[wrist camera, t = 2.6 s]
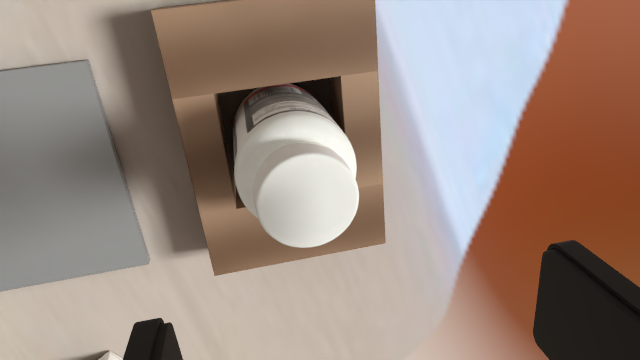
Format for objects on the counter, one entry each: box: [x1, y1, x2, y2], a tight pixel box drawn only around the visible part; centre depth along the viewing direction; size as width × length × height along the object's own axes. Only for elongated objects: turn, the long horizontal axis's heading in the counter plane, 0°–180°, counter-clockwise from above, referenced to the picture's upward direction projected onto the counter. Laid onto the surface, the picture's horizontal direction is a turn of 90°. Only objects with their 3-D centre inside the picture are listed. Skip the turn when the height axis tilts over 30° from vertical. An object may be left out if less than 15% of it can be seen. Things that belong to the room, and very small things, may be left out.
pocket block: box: [151, 0, 385, 276], centre depth 24 cm, size 14×10×3 cm
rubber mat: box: [0, 60, 150, 291], centre depth 24 cm, size 12×10×1 cm
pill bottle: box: [233, 83, 359, 248], centre depth 21 cm, size 5×5×10 cm
